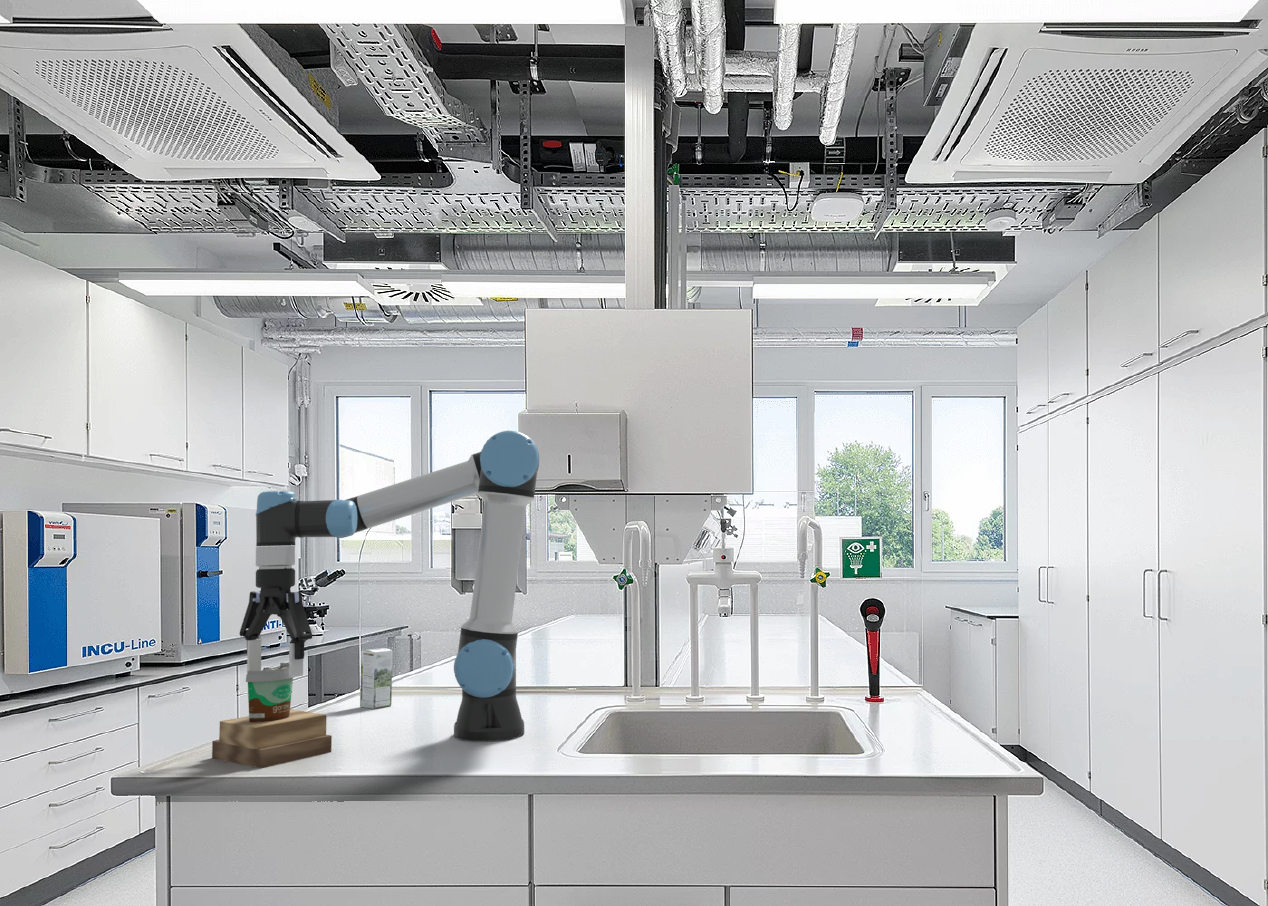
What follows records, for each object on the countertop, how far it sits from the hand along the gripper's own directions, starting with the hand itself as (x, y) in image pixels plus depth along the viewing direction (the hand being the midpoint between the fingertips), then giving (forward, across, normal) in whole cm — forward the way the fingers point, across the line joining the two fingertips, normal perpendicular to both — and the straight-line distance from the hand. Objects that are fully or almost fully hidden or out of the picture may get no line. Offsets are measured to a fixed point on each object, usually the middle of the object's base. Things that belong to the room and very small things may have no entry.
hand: (274, 674), depth 196 cm
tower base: (+16, 0, 0) cm, 17 cm away
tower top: (+12, 0, 0) cm, 13 cm away
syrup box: (+16, +26, -49) cm, 58 cm away
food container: (+9, -1, 0) cm, 9 cm away
